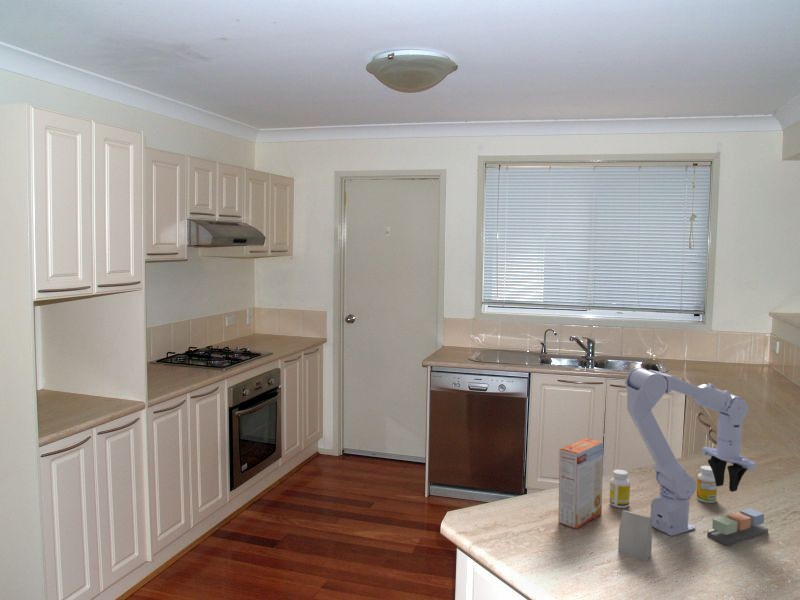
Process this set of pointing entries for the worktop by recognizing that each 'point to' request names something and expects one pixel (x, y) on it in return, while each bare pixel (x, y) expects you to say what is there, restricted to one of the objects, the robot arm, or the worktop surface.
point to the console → (737, 535)
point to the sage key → (724, 525)
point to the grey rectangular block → (635, 535)
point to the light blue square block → (754, 516)
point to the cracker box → (580, 482)
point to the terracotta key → (740, 520)
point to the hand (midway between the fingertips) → (726, 488)
